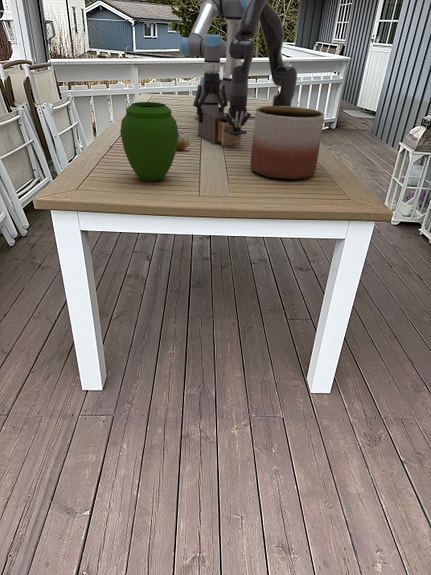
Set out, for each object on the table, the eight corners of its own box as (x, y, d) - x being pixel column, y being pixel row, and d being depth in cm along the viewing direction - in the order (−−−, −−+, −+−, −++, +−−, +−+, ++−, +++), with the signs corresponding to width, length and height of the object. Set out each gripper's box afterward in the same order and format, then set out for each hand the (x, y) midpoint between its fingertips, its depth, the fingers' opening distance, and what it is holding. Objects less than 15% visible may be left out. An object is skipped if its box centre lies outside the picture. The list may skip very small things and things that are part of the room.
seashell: (189, 148, 186) (189, 129, 181) (190, 151, 181) (190, 132, 177) (168, 148, 184) (168, 129, 180) (169, 151, 180) (168, 132, 175)
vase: (131, 189, 135) (125, 110, 122) (118, 172, 150) (112, 100, 137) (186, 184, 142) (187, 109, 129) (169, 168, 157) (167, 99, 144)
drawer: (246, 147, 188) (248, 125, 183) (228, 148, 184) (229, 126, 179) (222, 135, 207) (223, 115, 201) (206, 136, 203) (206, 115, 198)
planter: (324, 181, 152) (336, 118, 140) (258, 182, 148) (265, 117, 136) (301, 162, 173) (310, 106, 162) (243, 162, 169) (248, 104, 157)
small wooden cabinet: (233, 142, 199) (235, 117, 193) (214, 144, 195) (215, 117, 189) (216, 134, 214) (217, 109, 208) (197, 135, 210) (198, 110, 204)
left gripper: (229, 71, 202) (227, 119, 214) (186, 71, 193) (186, 121, 205) (236, 73, 196) (233, 122, 208) (192, 73, 187) (191, 124, 199)
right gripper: (248, 92, 181) (244, 133, 191) (221, 92, 176) (219, 134, 186) (256, 94, 175) (252, 136, 185) (229, 95, 170) (226, 138, 180)
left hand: (210, 121), depth 206 cm, fingers closed on small wooden cabinet, 10 cm apart
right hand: (235, 135), depth 185 cm, fingers closed
